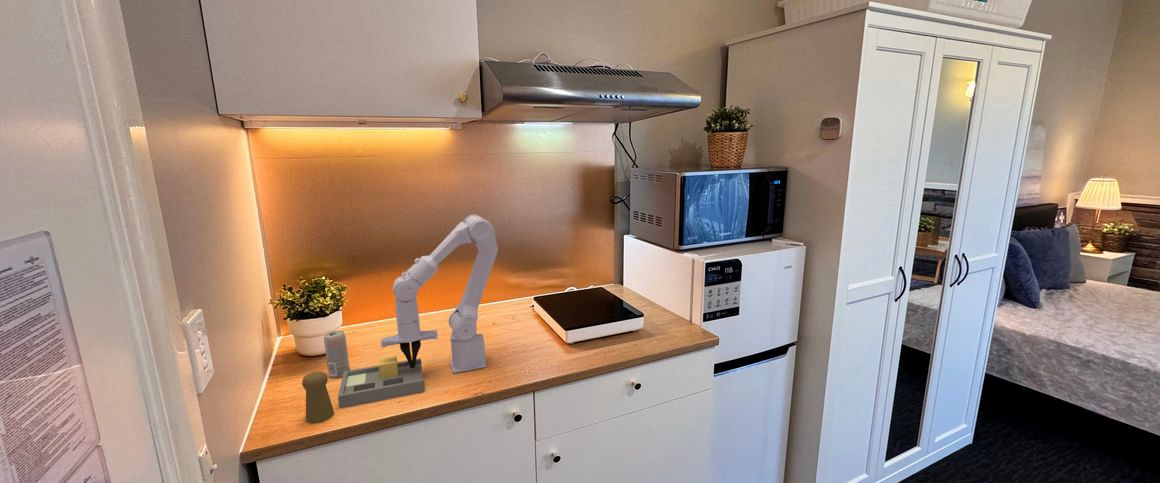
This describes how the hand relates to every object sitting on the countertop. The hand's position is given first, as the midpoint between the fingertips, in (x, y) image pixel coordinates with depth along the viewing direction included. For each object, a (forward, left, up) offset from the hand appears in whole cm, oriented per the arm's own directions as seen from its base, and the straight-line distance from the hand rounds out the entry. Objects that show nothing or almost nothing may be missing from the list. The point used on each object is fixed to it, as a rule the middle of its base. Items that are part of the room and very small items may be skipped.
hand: (412, 366), depth 130 cm
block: (+6, 0, -1) cm, 6 cm away
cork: (+22, +12, -3) cm, 25 cm away
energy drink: (+20, -10, -3) cm, 22 cm away
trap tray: (+8, +3, -3) cm, 9 cm away
